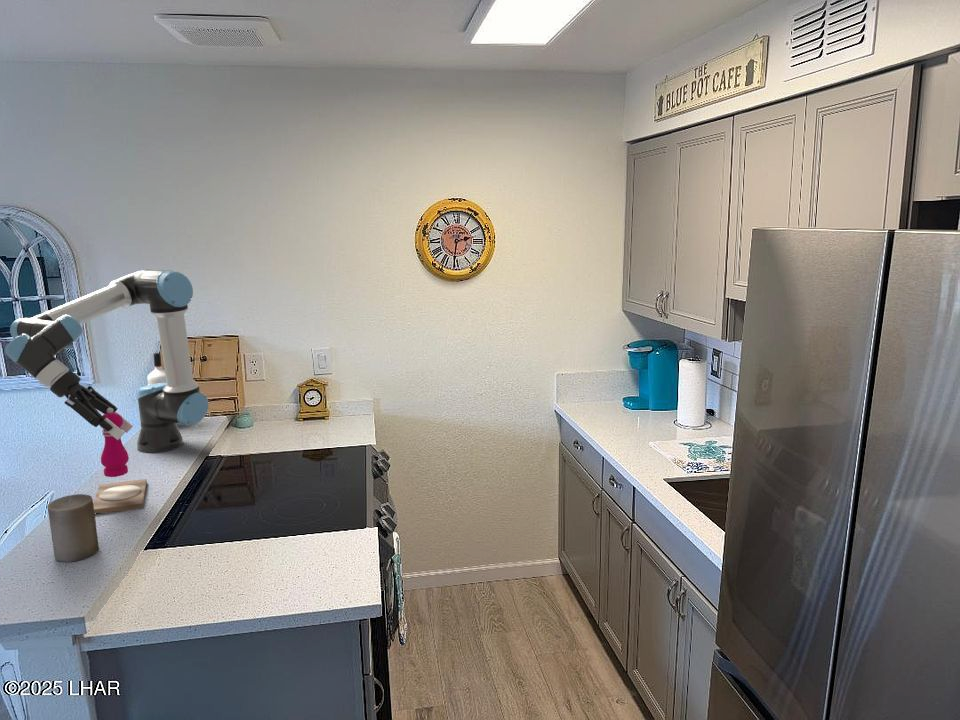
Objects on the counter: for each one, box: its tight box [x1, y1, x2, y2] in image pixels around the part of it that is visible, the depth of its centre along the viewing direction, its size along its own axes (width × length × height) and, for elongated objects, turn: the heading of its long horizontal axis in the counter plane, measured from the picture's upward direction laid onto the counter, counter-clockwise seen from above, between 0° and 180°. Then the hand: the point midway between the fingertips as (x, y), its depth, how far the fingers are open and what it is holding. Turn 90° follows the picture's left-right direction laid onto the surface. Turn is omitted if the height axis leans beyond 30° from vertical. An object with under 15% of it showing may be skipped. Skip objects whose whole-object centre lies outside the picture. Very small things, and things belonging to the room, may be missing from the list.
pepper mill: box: [99, 408, 129, 478], centre depth 199 cm, size 7×7×20 cm
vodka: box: [146, 352, 167, 385], centre depth 270 cm, size 9×9×30 cm
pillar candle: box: [46, 493, 100, 563], centre depth 168 cm, size 10×10×15 cm
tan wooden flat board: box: [93, 478, 148, 514], centre depth 203 cm, size 20×13×2 cm, turn 23°
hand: (125, 432), depth 199 cm, fingers closed on pepper mill, 6 cm apart
